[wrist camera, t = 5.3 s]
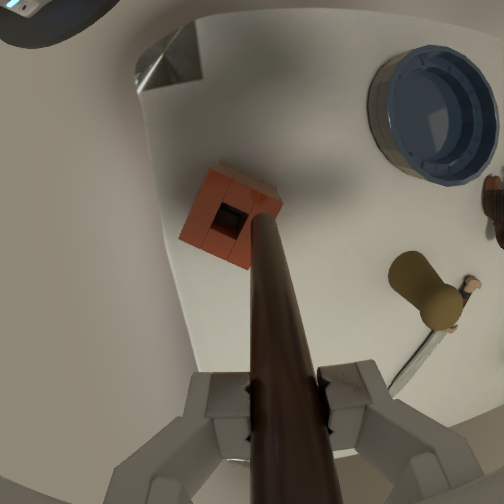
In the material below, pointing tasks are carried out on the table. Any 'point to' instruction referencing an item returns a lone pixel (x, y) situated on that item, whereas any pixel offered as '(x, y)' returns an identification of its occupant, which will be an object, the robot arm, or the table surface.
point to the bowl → (434, 115)
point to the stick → (283, 387)
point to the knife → (430, 343)
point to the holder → (224, 223)
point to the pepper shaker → (426, 290)
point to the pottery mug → (495, 206)
